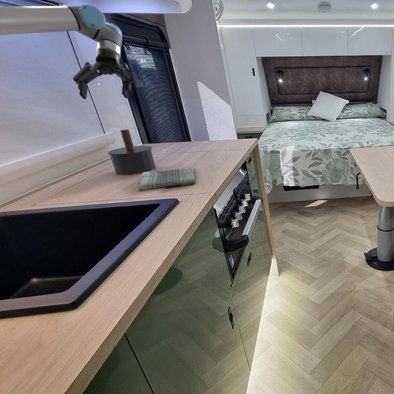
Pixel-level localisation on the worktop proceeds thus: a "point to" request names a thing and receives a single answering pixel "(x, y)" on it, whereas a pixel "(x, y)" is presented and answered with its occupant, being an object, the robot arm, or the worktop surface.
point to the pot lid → (128, 146)
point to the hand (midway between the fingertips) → (104, 96)
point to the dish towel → (167, 178)
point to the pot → (133, 163)
